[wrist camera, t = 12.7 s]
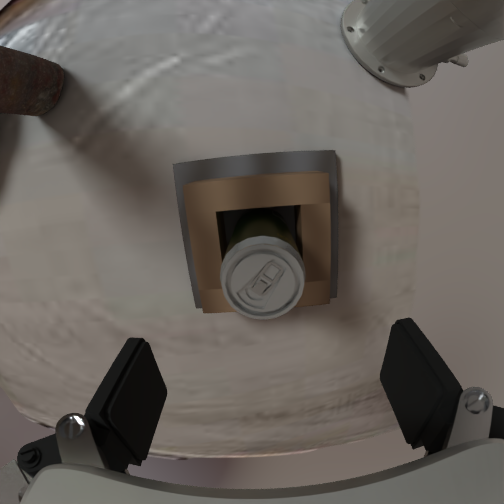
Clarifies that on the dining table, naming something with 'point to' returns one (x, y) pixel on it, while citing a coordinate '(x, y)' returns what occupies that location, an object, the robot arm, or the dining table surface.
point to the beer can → (262, 266)
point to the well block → (259, 196)
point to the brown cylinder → (28, 83)
